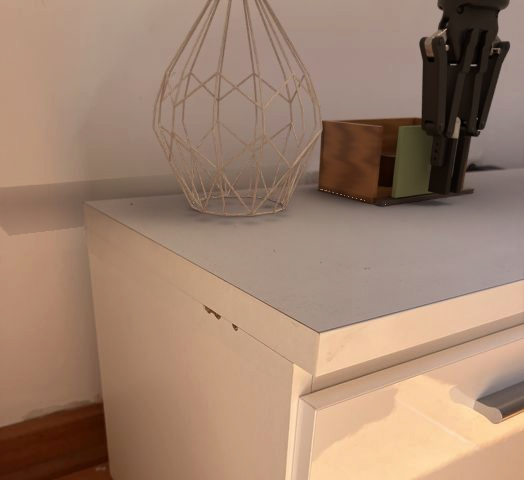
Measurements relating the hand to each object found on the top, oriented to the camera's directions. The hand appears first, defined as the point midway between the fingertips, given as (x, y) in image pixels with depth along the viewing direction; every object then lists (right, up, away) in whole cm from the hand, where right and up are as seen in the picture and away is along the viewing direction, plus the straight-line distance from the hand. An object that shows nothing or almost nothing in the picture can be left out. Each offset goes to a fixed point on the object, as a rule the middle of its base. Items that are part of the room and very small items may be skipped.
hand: (443, 191), depth 71 cm
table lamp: (-26, -3, -2) cm, 26 cm away
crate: (-5, +2, +8) cm, 10 cm away
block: (-5, +3, +8) cm, 10 cm away
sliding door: (-2, 0, +1) cm, 2 cm away
